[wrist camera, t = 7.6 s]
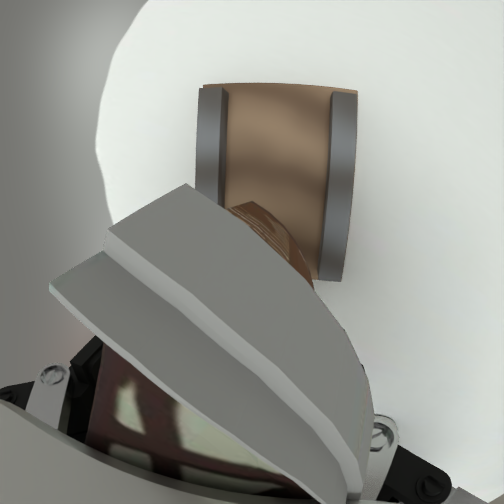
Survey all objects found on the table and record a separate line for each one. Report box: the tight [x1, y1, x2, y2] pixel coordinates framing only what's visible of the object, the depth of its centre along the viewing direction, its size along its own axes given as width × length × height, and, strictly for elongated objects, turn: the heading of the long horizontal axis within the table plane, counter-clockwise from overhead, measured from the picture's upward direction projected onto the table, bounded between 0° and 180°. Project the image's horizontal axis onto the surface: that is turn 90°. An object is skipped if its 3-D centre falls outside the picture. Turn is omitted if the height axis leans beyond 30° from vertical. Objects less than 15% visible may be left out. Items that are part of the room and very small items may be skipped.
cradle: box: [195, 83, 358, 282], centre depth 24 cm, size 18×14×4 cm
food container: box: [49, 184, 375, 504], centre depth 8 cm, size 12×6×10 cm, turn 151°
